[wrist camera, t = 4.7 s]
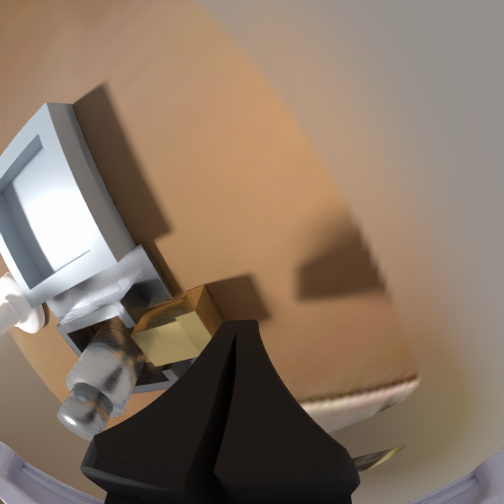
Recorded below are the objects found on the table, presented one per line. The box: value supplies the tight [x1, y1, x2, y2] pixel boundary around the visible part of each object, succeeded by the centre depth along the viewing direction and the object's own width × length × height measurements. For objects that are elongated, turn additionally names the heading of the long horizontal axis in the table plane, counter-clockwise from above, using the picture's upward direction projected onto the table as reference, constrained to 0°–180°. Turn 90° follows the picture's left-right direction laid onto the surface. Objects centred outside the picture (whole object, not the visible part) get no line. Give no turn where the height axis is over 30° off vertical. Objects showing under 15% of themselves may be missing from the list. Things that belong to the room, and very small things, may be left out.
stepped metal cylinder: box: [57, 316, 147, 441], centre depth 11 cm, size 3×3×7 cm
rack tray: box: [0, 102, 136, 309], centre depth 11 cm, size 8×8×2 cm
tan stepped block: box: [130, 285, 225, 366], centre depth 13 cm, size 3×4×2 cm
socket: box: [46, 242, 197, 394], centre depth 13 cm, size 9×9×2 cm
